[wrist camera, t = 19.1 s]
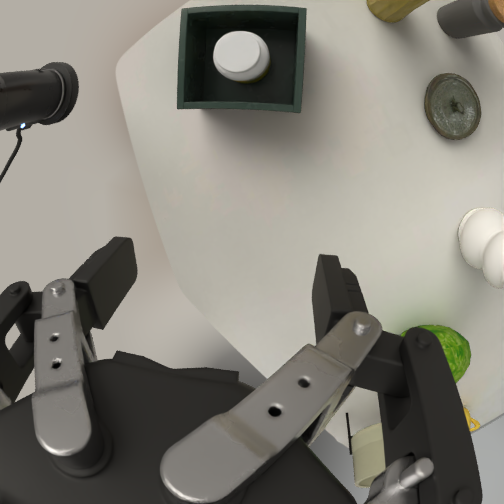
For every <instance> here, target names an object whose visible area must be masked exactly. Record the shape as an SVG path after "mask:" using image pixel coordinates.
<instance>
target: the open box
mask: <svg viewBox="0 0 504 504" xmlns="http://www.w3.org/2000/svg"><path fill="white" fill-rule="evenodd" d="M306 11H307V9H306V8H299V7H288V6H271V5H221V6H205V7H193V8H184V9H182V11H181V23H180V38H179V57H178V84H177V109H250V110H268V111H282V112H294V113H301V103H302V88H303V73H304V55H305V35H306ZM235 31H246V32H251V33H254V34H256V35H258V36H259V37H260V38H262V39H263V41H264V42H265V43H266V45H267V47H268V50H269V54H270V58H271V67H270V70H269V72H268V74H267V75H266V76H265V77H264V78H263V79H262V80H260V81H258V82H255V83H251V84H243V83H239V82H236V81H233V80H231V79H228V78H226V77H225V76H223V75H222V74H221V73H220V72H219V71H218V70H217V68H216V66H215V64H214V60H213V53H214V49H215V45H216V43H217V42H218V40H219V39H220V38H221V37H222V36H224V35H226V34H228V33H230V32H235Z"/></svg>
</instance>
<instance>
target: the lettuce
mask: <svg viewBox="0 0 504 504" xmlns="http://www.w3.org/2000/svg"><path fill="white" fill-rule="evenodd" d="M418 327H420V328H425V329H427V330H429V331H431V332H432V333H434V334H435V335H436V336H437V337H438V339H439V341H440V343H441V345H442V348H443V350H444V353H445V355H446V358H447V361H448V363H449V366H450V369H451V372H452V375H453V377H454V380H455V383H457V382H458V381H459V380H460V379H461V377H462V376H463V375H464V373H465V371H466V370H467V368H468V366H469V365H470V358H471V351H470V346H469V342H468V341H467V340H466V339H465V338H464V337H463V336H462V335H461V334H459V333H458V332H456V331H455V330H453V329H451V328H450V327H445V326H440V325H436V326H434V325H423V326H418ZM406 332H407V331H405V332H403V333H402V334H401V336H403V337H404V336H405V334H406Z"/></svg>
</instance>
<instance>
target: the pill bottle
mask: <svg viewBox="0 0 504 504" xmlns="http://www.w3.org/2000/svg"><path fill="white" fill-rule="evenodd" d="M213 60H214V64H215V66H216V68H217V70H218V71H219V72H220V73H221V74H222V75H223V76H225V77H226V78H228V79H231V80H233V81H236V82H239V83H243V84H251V83H255V82H258V81H260V80H262V79H263V78H264V77H265V76H266V75H267V74H268V72H269V70H270V67H271V58H270V54H269V50H268V47H267V45H266V43H265V42H264V41H263V39H262V38H260V37H259V36H258V35H256V34H254V33H251V32H246V31H235V32H230V33H228V34H226V35H224V36H222V37H221V38H220V39H219V40H218V42H217V43H216V45H215V49H214V53H213Z"/></svg>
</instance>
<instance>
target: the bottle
mask: <svg viewBox="0 0 504 504" xmlns="http://www.w3.org/2000/svg"><path fill="white" fill-rule="evenodd" d="M437 19H438V22H439V24H440V26H441V28H442V29H443V30H444V31H445V32H446V33H447V34H448V35H449V36H451V37H453V38H465V37H470V36H475V35H480V34H486V33H492V32H497V31H500V30H501V29H502V28H504V0H457V1H454V2H452V3H450V4H447V5H445V6H443V7H441V8H440V9H439V10H438V13H437Z"/></svg>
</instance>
